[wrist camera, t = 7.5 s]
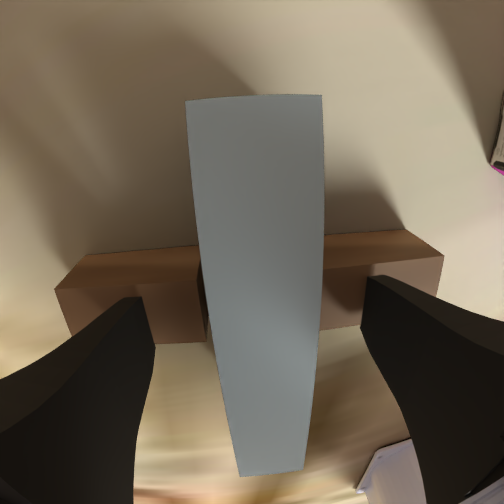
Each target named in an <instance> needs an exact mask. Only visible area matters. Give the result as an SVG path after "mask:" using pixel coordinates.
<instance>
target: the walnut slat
mask: <svg viewBox="0 0 504 504" xmlns="http://www.w3.org/2000/svg"><path fill="white" fill-rule="evenodd" d="M443 261H444V255H443V254H441V253H440V252H438V251H437V250H436V249H434V248H433V247H431V246H430V245H429V244H427V243H426V242H424V241H423V240H421V239H420V238H418V237H417V236H415V235H414V234H412V233H411V232H409V231H408V230H406V229H405V230H390V231H376V232H362V233H348V234H334V235H324V249H323V276H322V296H321V312H320V327H319V331H320V330H328V329H335V328H341V327H348V326H354V325H361V319H362V312H363V305H364V298H365V290H366V281H367V276H376V275H387V276H390V277H392V278H395V279H397V280H400V281H402V282H404V283H406V284H409V285H411V286H413V287H415V288H417V289H419V290H421V291H423V292H426V293H428V294H430V295H432V296H434V297H436V294H437V290H438V285H439V281H440V276H441V271H442V266H443ZM54 290H55V293H56V296H57V299H58V301H59V304H60V307H61V310H62V312H63V315H64V318H65V320H66V323H67V325H68V328H69V330H70V333H71V335H72V336H74V335H75V334H76V333H78V332H79V331H81V330H82V329H83V328H84V327H86V326H87V325H88V324H89V323H91V322H92V321H93V320H94V319H96V318H97V317H98V316H100V315H101V314H102V313H103V312H105V311H106V310H107V309H108V308H110V307H111V306H112V305H114V304H115V303H116V302H118V301H119V300H121V299H122V298H124V297H140V296H142V299H143V303H144V307H145V311H146V315H147V319H148V322H149V326H150V330H151V333H152V337H153V340H154V343H155V344H170V343H193V342H206V340H207V326H208V316H209V312H208V306H207V299H206V292H205V285H204V278H203V271H202V264H201V256H200V248H199V245H196V246H184V247H173V248H162V249H150V250H139V251H128V252H117V253H107V254H96V255H86V256H84V257H83V258H82V259H81V261H80V262H79V263H78V264H77V265H76V266H75V267H74V268H73V269H72V270H71V271H70V272H69V273H68V274H67V275H66V277H65V278H64V279H63V280H62V281H61V282H60V283H59V284H58V285H57V287H56V288H55V289H54Z"/></svg>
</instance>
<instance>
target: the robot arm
mask: <svg viewBox="0 0 504 504" xmlns="http://www.w3.org/2000/svg"><path fill="white" fill-rule="evenodd" d="M360 329H361V331H362V334H363V337H364V339H365V342H366V345H367V347H368V349H369V352H370V354H371V356H372V357H373V359H374V361H375V363H376V365H377V366H378V368H379V370H380V372H381V374H382V375H383V377H384V379H385V381H386V382H387V384H388V386H389V388H390V390H391V391H392V393H393V395H394V397H395V399H396V401H397V403H398V405H399V407H400V409H401V411H402V414H403V417H404V419H405V422H406V425H407V427H408V430H409V433H410V436H411V439H409V440H406V441H403V442H400V443H397V444H394V445H391V446H387V447H384V448H381V449H379V450H377V451H376V452H375V454H374V456H373V458H372V460H371V462H370V464H369V466H368V468H367V470H366V472H365V474H364V476H363V478H362V479H361V481H360V483H359V485H358V487H357V489H356V490H355V491H356V493H357V494H359V493H363V492H365V493H366V496H367V499H368V502H369V504H504V322H503V321H499V320H495V319H492V318H488V317H485V316H482V315H479V314H476V313H473V312H470V311H468V310H465V309H462V308H460V307H457V306H455V305H453V304H450V303H448V302H445V301H443V300H441V299H439V298H436V297H434V296H432V295H430V294H428V293H426V292H423V291H421V290H419V289H417V288H415V287H413V286H411V285H409V284H406V283H404V282H402V281H400V280H397V279H395V278H392V277H390V276H387V275H376V276H367V281H366V290H365V298H364V305H363V312H362V319H361V325H360ZM155 348H156V347H155V343H154V340H153V337H152V333H151V330H150V326H149V322H148V319H147V315H146V311H145V307H144V303H143V299H142V296H140V297H124V298H122V299H121V300H119V301H118V302H116V303H115V304H114V305H112V306H111V307H110V308H108V309H107V310H106V311H105V312H103V313H102V314H101V315H100V316H98V317H97V318H96V319H94V320H93V321H92V322H91V323H89V324H88V325H87V326H86V327H84V328H83V329H82V330H81V331H79V332H78V333H76V334H75V335H74V336H72V337H71V338H70V339H68V340H67V341H66V342H64V343H63V344H62V345H60V346H59V347H57V348H56V349H55V350H53V351H52V352H50V353H48V354H47V355H45V356H44V357H42V358H40V359H39V360H37V361H35V362H34V363H32V364H30V365H28V366H26V367H24V368H22V369H20V370H18V371H16V372H15V373H13V374H11V375H9V376H7V377H4V378H2V379H0V504H133V483H134V462H135V451H136V441H137V435H138V429H139V425H140V421H141V417H142V413H143V409H144V405H145V401H146V397H147V393H148V389H149V385H150V381H151V377H152V373H153V365H154V357H155Z"/></svg>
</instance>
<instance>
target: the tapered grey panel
mask: <svg viewBox="0 0 504 504" xmlns="http://www.w3.org/2000/svg"><path fill="white" fill-rule="evenodd" d="M185 108H186V122H187V134H188V146H189V158H190V168H191V178H192V188H193V198H194V207H195V216H196V224H197V232H198V241H199V248H200V256H201V264H202V271H203V278H204V285H205V292H206V299H207V306H208V312H209V319H210V325H211V331H212V337H213V343H214V349H215V355H216V361H217V367H218V372H219V378H220V383H221V389H222V394H223V399H224V404H225V410H226V415H227V420H228V425H229V429H230V434H231V439H232V444H233V448H234V453H235V458H236V462H237V467H238V471H239V475H240V477H247V476H259V475H269V474H277V473H285V472H292V471H299V470H303V466H304V460H305V453H306V447H307V440H308V433H309V425H310V417H311V409H312V401H313V392H314V383H315V373H316V363H317V352H318V340H319V327H320V312H321V296H322V276H323V249H324V136H323V110H322V95H305V94H280V95H249V96H232V97H219V98H208V99H198V100H189V101H185Z"/></svg>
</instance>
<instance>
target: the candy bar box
mask: <svg viewBox="0 0 504 504" xmlns="http://www.w3.org/2000/svg"><path fill="white" fill-rule="evenodd" d="M490 165H491V167H492V168H494V169H495V170H497V171H498V172H499V173H501V174H502V175H504V96H503V101H502V106H501V114H500V121H499V127H498V133H497V137H496V141H495V145H494V149H493V154H492V158H491V162H490Z"/></svg>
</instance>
